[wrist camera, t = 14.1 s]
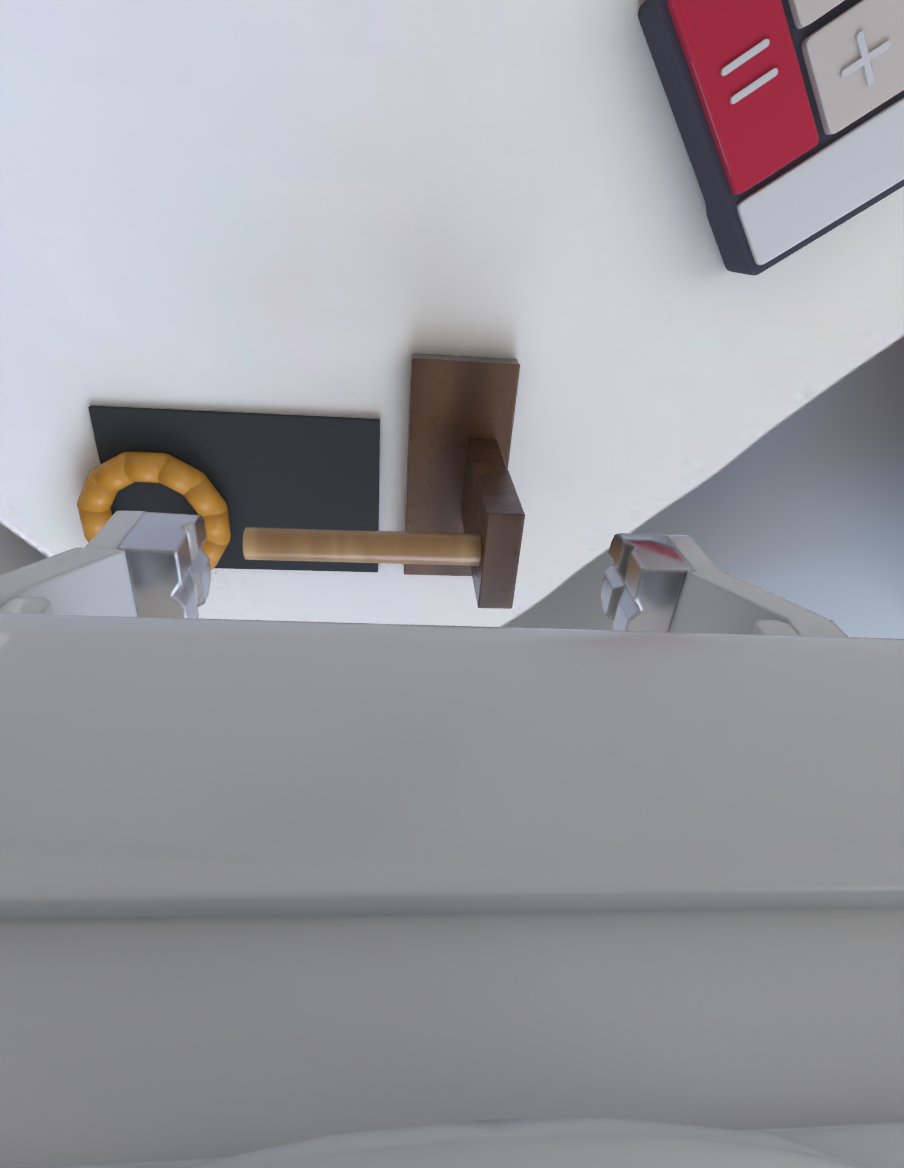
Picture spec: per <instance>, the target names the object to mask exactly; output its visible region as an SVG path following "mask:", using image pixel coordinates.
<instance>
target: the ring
mask: <svg viewBox="0 0 904 1168" xmlns="http://www.w3.org/2000/svg"><path fill="white" fill-rule="evenodd" d="M134 482H153V483H161V484H163V485H165V486H167V487H169V488H171V489H173V490H175V491H177V492H179V493H181V494H182V495H184V497H185V498H186V499H187V500H188V502H189V503H190V504H191V505H192V507H193V508H194V509H195V511H196V512H197V513H198V515H201V516H202V518H203V520H204V522H205V529H206V536H207V538H206V540H205V542H204V543H203V545H202V547H201V549H202V550H203V551H204V552H205V553H206V555H207V556H208V557H209V560H210V570H212V569H213V568H214V567H215V566H216V565H217V563H218V561H219V560H220V558H221V556H222V554H223V553H224V551H225V549H226V547H227V545H228V544H229V542H230V538H231V533H230V525H229V516H228V508H227V504H226V502H225V501H224V499H223V498H222V497H221V495H220V494H219V493H218V491H217V490H216V489H215V487H214V486H213V484H212V483H211V482H210V480H209V479H208V478H207V476H206V475H205V474H204V473H203V472H201V471H199V470H198V469H196V468H194V467H192V466H190V465H188V464H186V463H184V462H182V461H181V460H179V459H177V458H175V457H173V456H171V455H169V454H166V453H152V452H123V453H121V454H119V455H117V456H115V457H113V458H112V459H110V460H108V461H106V462H104V463H102V464H101V465H99V466H97V467H95V468H94V469H92V470H91V471H90V473H89V475H88V477H87V480H86V482H85V484H84V487H83V489H82V491H81V494H80V496H79V498H78V502H77V507H78V511H79V515H80V519H81V523H82V527H83V531H84V535H85V538H86V540H87V541H88V542H90V541H91V540H92V539H93V538H94V537H95V535H96V534H97V533H98V532H99V531H100V530H101V528H102V527H103V526H104V525H105V524H106V523H107V521H108V520H109V519H110V518H111V517H112V511H111V505H112V503H113V501H114V499H115V496H116V494H117V492H118V491H119V490H121V489H123V488H125V487H126V486H128V485H130V484H132V483H134Z"/></svg>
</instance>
